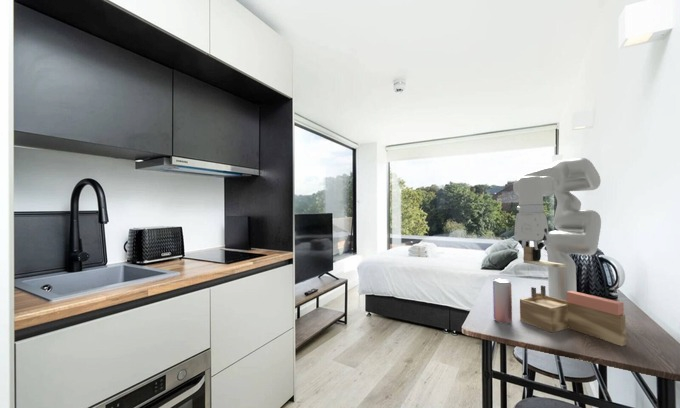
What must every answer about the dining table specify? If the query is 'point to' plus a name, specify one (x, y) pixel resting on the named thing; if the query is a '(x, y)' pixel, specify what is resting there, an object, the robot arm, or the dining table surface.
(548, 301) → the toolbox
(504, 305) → the beverage can
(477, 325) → the dining table surface
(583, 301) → the pink rectangular block
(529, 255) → the lid
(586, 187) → the robot arm
